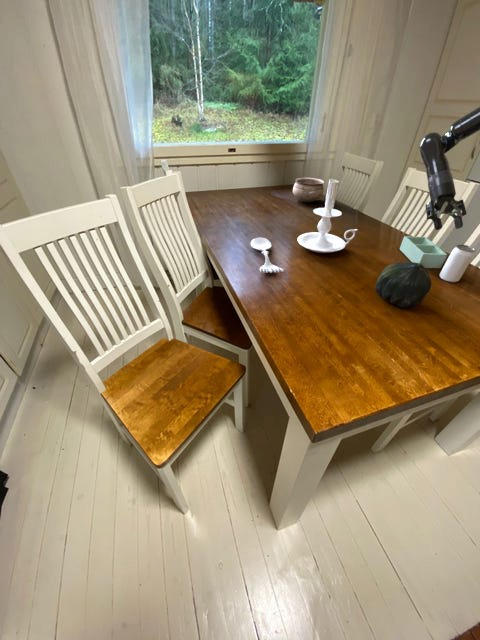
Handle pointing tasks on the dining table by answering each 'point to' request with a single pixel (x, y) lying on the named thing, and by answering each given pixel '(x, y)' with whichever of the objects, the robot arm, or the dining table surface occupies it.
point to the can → (457, 263)
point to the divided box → (423, 252)
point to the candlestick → (325, 226)
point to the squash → (403, 284)
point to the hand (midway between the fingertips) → (449, 228)
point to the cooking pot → (308, 189)
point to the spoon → (263, 246)
